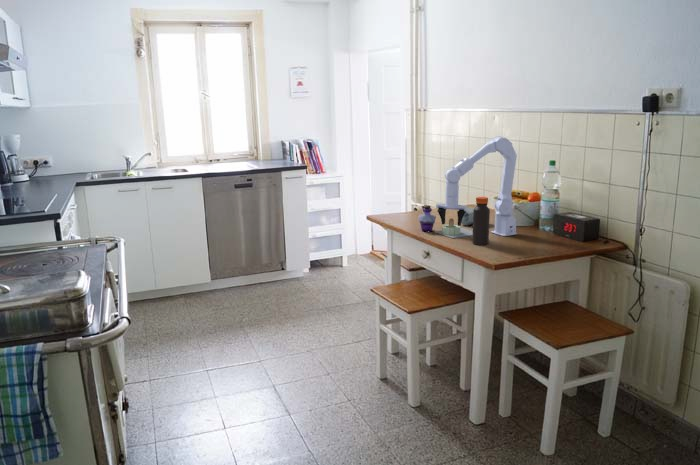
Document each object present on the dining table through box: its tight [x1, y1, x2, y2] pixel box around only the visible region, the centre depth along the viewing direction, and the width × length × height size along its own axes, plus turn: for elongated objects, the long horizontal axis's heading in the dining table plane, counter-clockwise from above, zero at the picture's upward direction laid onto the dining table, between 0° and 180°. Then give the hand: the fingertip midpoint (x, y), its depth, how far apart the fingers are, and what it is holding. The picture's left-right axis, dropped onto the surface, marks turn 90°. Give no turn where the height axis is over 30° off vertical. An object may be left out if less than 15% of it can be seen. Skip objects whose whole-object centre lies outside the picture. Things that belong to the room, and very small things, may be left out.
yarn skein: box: [461, 207, 475, 226], centre depth 283 cm, size 14×10×10 cm
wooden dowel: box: [448, 217, 455, 228], centre depth 265 cm, size 2×2×7 cm
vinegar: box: [471, 196, 491, 246], centre depth 245 cm, size 7×7×20 cm
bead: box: [441, 224, 461, 235], centre depth 265 cm, size 8×8×3 cm
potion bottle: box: [418, 204, 437, 233], centre depth 271 cm, size 9×9×12 cm
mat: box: [434, 227, 473, 239], centre depth 266 cm, size 14×16×1 cm
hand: (451, 224), depth 265 cm, fingers open, 7 cm apart
